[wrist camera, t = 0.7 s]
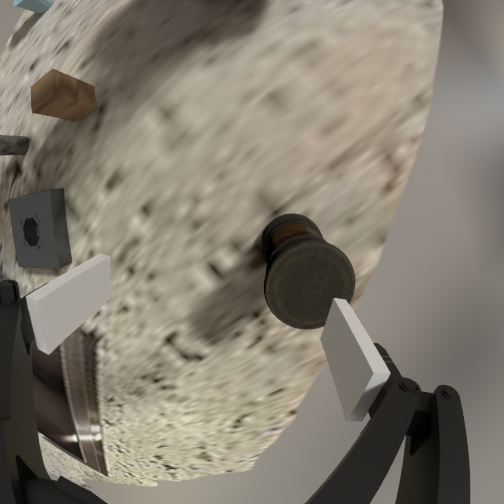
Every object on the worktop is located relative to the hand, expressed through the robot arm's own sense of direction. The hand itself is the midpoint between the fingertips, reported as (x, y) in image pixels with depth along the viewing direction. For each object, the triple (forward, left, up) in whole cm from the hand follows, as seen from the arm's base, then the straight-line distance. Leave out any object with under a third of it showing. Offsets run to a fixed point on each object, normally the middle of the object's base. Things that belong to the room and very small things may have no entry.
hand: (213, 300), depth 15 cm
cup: (-60, -49, -26) cm, 82 cm away
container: (+3, +7, -26) cm, 28 cm away
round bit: (-19, -46, -26) cm, 56 cm away
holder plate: (-1, -40, -26) cm, 48 cm away
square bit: (-23, -28, -26) cm, 45 cm away
